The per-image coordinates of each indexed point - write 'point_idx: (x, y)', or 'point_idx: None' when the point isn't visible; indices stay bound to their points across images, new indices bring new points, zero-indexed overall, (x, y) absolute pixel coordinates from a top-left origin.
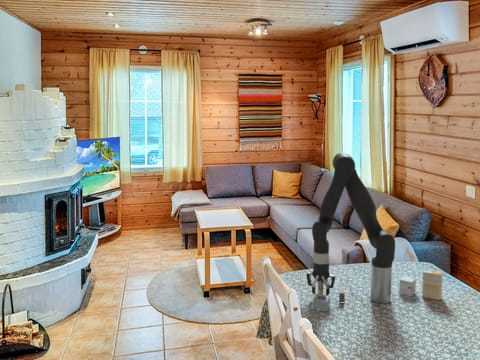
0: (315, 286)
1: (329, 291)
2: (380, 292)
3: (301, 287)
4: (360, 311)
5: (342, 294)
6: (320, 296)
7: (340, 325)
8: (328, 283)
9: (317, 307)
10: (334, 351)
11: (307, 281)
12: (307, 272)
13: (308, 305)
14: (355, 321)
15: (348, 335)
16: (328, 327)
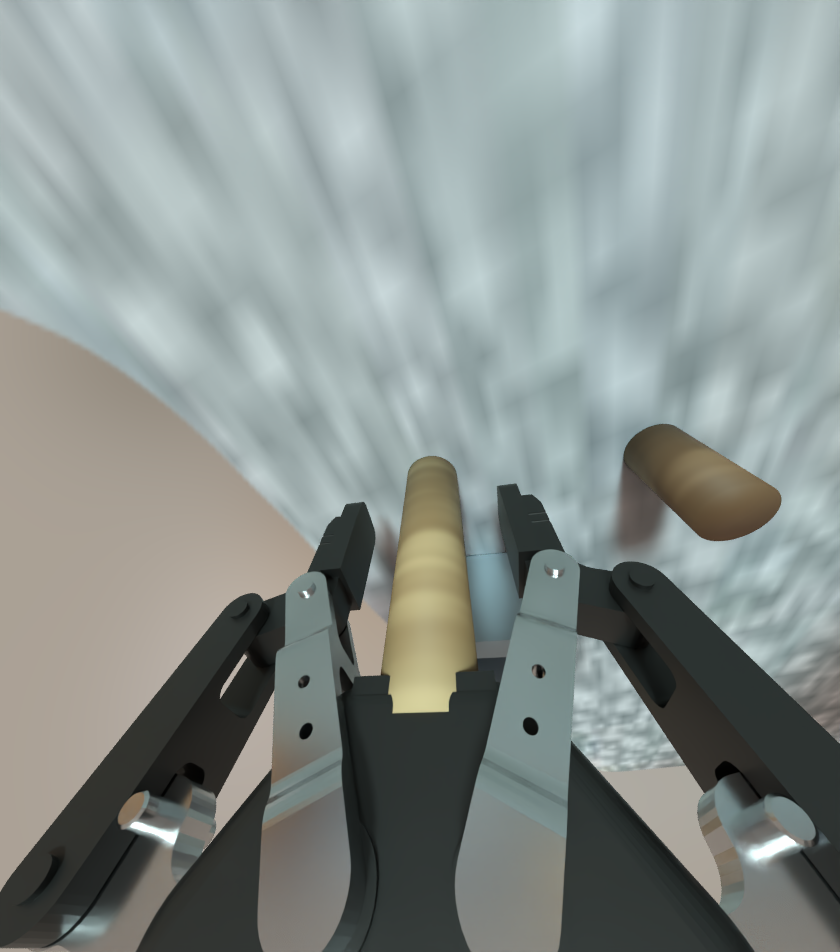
0: (343, 564)
1: (548, 529)
2: None
3: (28, 233)
4: (810, 539)
5: (735, 537)
6: (478, 651)
7: (621, 685)
8: (572, 626)
9: None
10: (596, 766)
11: (230, 702)
12: (11, 924)
13: (388, 589)
14: None
15: (654, 720)
16: None
